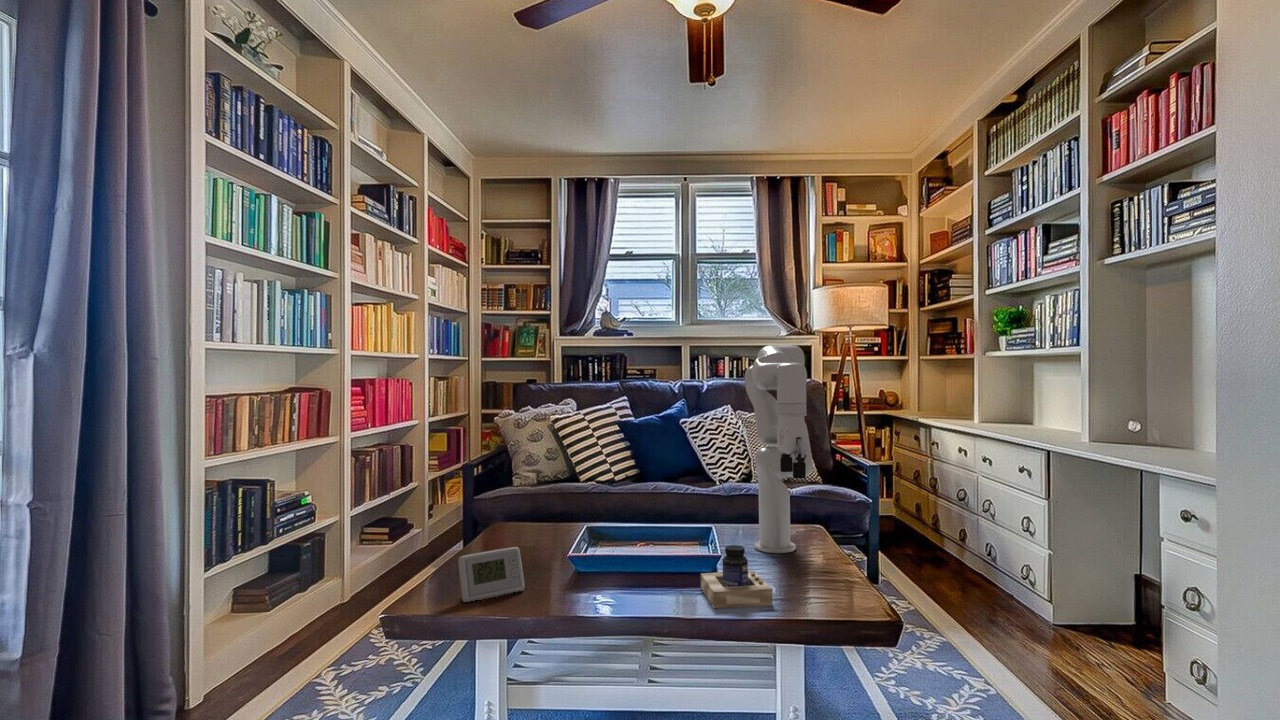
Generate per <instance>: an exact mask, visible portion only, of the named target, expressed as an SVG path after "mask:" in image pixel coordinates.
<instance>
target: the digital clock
mask: <svg viewBox="0 0 1280 720" xmlns="http://www.w3.org/2000/svg"><path fill="white" fill-rule="evenodd" d="M457 561H458V562H457V563H458V564H457V565H458V571H459V583H460V590H461V591H460V592H461V599H462V601H463V603H465V602H468V603H471V602H470V601H473V602H476V601H475V600H479V599H484V598H490V597H494V596H499V595H504V594H508V593H512V594H514V593H513V592H515V593H520V592H522V591H524V590H525V587H526V586H525V584H526V583H525V578H524V571H523V563H522V557H521V550H520V548H519V547H518V546H511V547H506V548H504V547H503V548H497V549H491V550H486V551H479V552H475V553H471V554H465V555H461V556H459V557H458V559H457ZM519 591H520V592H519Z"/></svg>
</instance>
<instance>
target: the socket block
mask: <svg viewBox="0 0 1280 720" xmlns="http://www.w3.org/2000/svg"><path fill="white" fill-rule="evenodd" d="M701 589H702V590H703V591H702V590H701ZM700 590H701V591H702V592H704V593H705V594H704V593H703V594H704V596H705V595H706V596H707V597H706V596H705V597H706V599H707V598H708V599H709V600H708V599H707V600H708V602H709V601H710V602H711V603H710V602H709V603H710V605H711V604H712V605H713V606H712V605H711V606H712V608H713V607H714V608H717V609H729V607H730V609H732V608H733V607H734V608H748V607H765V606H766V607H767V606H774V605H773V600H774V599H773V588H772V587H771V586H770V585H769V584H768V582H766V581H765V580H764V579H763V578H762V577H761V575H759V574H758V573H757V572H756V571H755V570H748V586H734V587H723V571H721V572H705V573H703V572H702V573H700ZM714 608H713V609H714ZM734 608H733V609H734Z"/></svg>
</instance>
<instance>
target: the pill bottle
mask: <svg viewBox="0 0 1280 720" xmlns="http://www.w3.org/2000/svg"><path fill="white" fill-rule="evenodd" d="M724 552H725V556H723V558H722V572H723V587H734V586H748V571H749V569H748V568H749V564H748V559H747V557H745V556H744V555H745V553H746V550H745V546H743V545H738V544H736V545H735V544H733V545H726V546H725V548H724Z"/></svg>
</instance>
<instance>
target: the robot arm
mask: <svg viewBox="0 0 1280 720" xmlns="http://www.w3.org/2000/svg"><path fill="white" fill-rule="evenodd" d="M805 362H806V360H805V354H804V351H803V349H802V348H801V347H800V346H798V345H795V344H794V345H793V344H791V345H790V344H789V345H782V344H781V345H778V344H777V345H767V346H763V347H762V348H761V349H760V350H759V351H758V352H757V357H756V359H755V360H754V362H753V364H752V365H751V366H749V367H747V368H746V370H745V373H744V384H745V385H744V386H745V390H746V393H747V395H748V398H749V400H750V402H751V405H752V407H753V411H754V420H755V430H756V436H757V440H758V442H759V443H760V444H761V445H763V447H761V448H759V449H758V450H757V451H756V453H755V455H754V464H755V469H756V475H757V487H758V527H759V529H758V530H759V533H758V534H759V535H758V537H759V539H758V541H755V543H754V548H755V549H756V550H757V551H760V552H763V553H769V554H787V553H792V552H794V551H796V543H794V542H792V541H791V501H790V499H791V498H790V497H791V496H790V490H789V488H788V487H787V485H786V484H785V483H784V482H783V481H782V478H793V479H805V478H806V477H808V476H810V475H811V474H812V471H813V467H814V466H813V465H814V463H813V455H812V449H811V444H810V437H809V431H808V426H807V423H806V422H805V419H806V418H805V417H807V416H808V415H807V381H808V371H807V369H806V366H805ZM773 390H774V391H776V398H775V396H773V395H772V394H771V393H769V392H768V391H773Z"/></svg>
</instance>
